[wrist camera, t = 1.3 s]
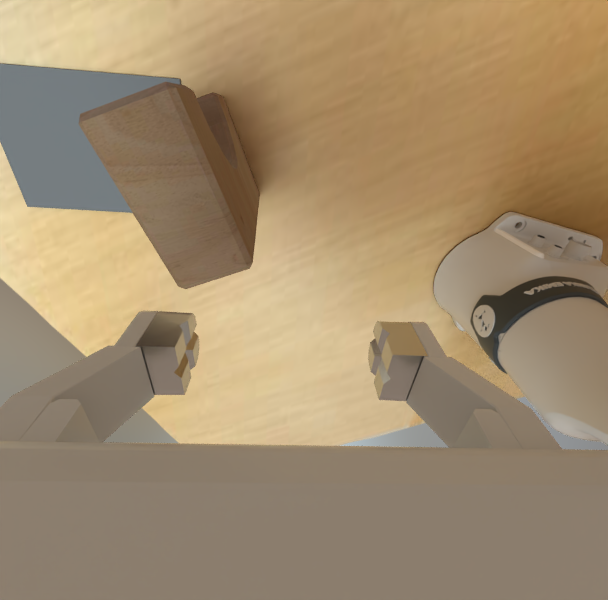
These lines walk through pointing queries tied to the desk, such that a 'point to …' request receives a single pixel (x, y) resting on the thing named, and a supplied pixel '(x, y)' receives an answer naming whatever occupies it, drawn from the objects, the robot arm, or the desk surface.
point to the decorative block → (181, 178)
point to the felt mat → (60, 134)
